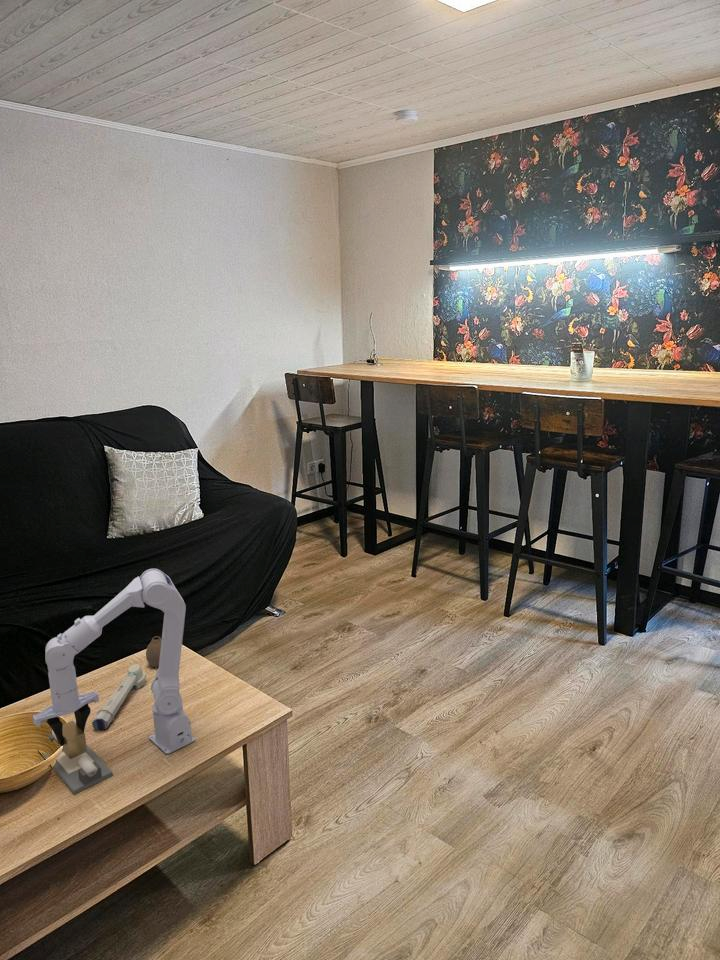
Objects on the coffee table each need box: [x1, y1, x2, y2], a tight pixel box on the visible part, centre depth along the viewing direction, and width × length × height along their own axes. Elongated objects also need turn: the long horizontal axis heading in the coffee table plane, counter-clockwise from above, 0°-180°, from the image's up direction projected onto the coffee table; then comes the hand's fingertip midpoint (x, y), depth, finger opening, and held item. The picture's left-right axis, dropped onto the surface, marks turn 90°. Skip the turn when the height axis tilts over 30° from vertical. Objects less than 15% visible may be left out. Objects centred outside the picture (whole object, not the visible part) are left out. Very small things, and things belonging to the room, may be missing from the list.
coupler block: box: [58, 720, 87, 759], centre depth 159 cm, size 7×4×5 cm, turn 44°
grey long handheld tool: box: [91, 663, 147, 731], centre depth 185 cm, size 5×7×25 cm
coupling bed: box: [42, 730, 114, 795], centre depth 160 cm, size 22×9×5 cm, turn 44°
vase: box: [145, 636, 162, 669], centre depth 204 cm, size 7×7×9 cm
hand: (70, 739), depth 159 cm, fingers closed on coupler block, 4 cm apart
